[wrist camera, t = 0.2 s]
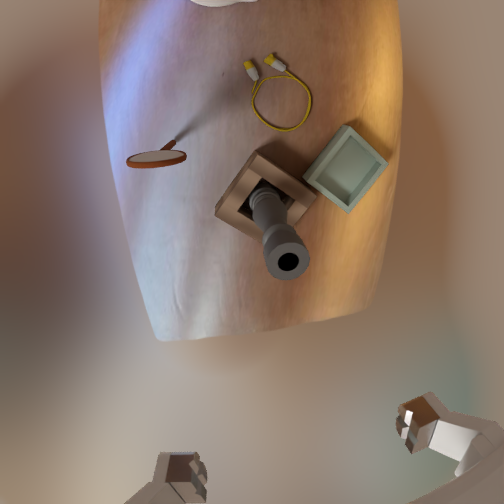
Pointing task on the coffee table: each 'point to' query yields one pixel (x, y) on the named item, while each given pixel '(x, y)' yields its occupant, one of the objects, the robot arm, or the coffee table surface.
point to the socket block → (244, 184)
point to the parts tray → (345, 168)
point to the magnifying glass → (157, 157)
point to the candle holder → (277, 234)
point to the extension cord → (277, 65)
